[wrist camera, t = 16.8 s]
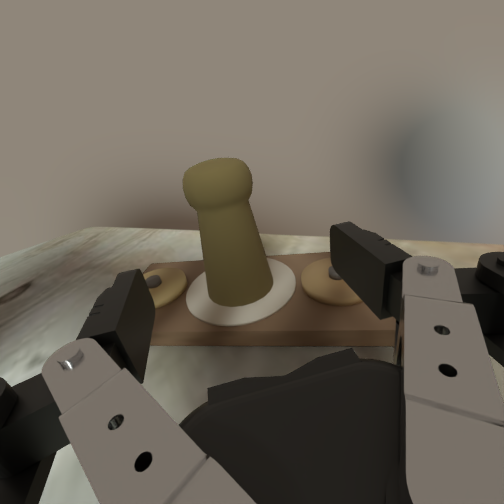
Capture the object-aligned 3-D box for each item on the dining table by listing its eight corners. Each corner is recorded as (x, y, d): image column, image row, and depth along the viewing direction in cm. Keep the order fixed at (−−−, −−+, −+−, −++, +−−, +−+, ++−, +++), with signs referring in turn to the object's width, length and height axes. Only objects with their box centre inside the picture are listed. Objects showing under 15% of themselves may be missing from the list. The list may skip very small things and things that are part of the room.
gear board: (97, 345, 23) (82, 319, 22) (155, 274, 33) (147, 253, 32) (401, 346, 18) (405, 313, 17) (366, 262, 28) (367, 236, 27)
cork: (235, 317, 21) (200, 173, 16) (195, 290, 25) (156, 170, 20) (287, 279, 24) (271, 150, 19) (243, 261, 28) (221, 151, 23)
